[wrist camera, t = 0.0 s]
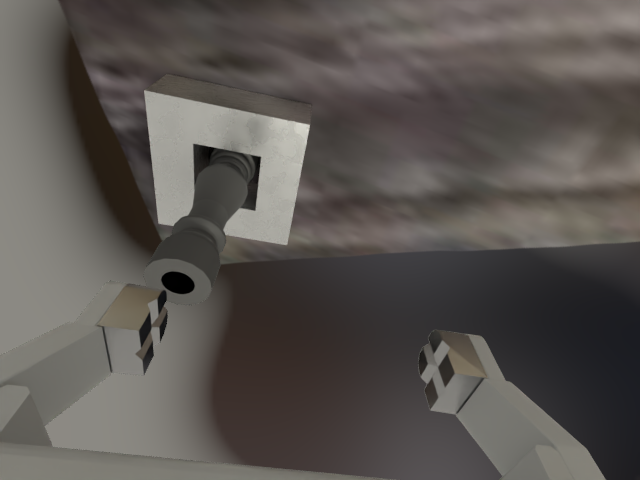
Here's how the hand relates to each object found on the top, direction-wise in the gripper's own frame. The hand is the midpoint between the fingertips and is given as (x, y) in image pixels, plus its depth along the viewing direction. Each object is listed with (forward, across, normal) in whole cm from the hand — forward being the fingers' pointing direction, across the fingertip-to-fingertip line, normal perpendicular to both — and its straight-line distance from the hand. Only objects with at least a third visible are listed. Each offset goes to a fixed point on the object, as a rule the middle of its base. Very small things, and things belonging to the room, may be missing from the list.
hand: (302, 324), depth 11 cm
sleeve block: (+40, +9, +11) cm, 43 cm away
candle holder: (+40, +9, +11) cm, 43 cm away
